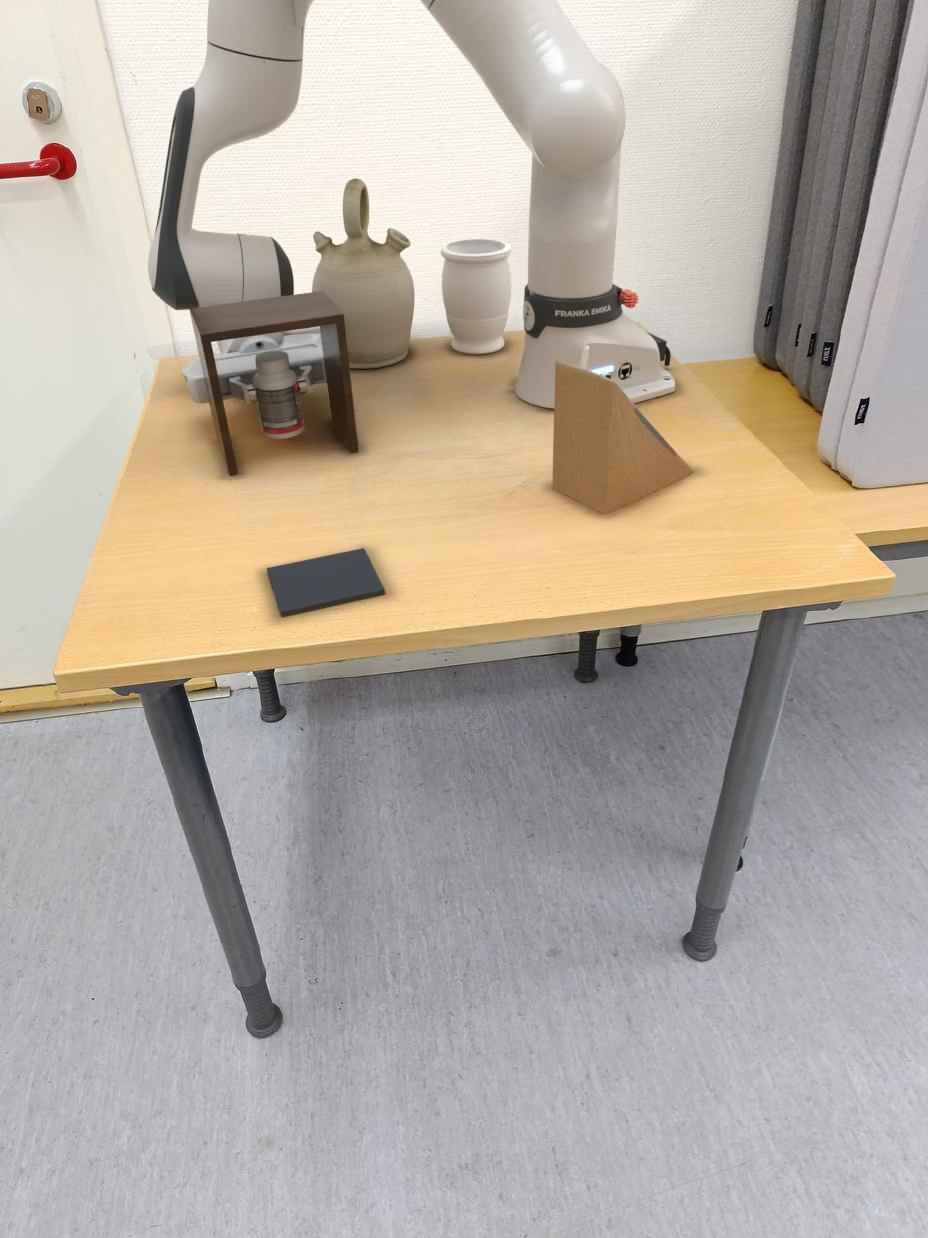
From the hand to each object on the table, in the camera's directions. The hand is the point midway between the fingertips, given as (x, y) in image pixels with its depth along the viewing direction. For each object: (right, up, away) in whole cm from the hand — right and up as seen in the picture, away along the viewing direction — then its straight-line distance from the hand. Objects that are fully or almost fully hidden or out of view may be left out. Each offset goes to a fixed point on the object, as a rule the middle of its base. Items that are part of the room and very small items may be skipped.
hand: (278, 392), depth 106 cm
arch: (0, -6, +3) cm, 7 cm away
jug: (+8, +13, +29) cm, 33 cm away
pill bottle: (0, -4, +4) cm, 6 cm away
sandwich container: (+41, -12, -6) cm, 43 cm away
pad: (+9, -24, -22) cm, 34 cm away
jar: (+25, +15, +31) cm, 43 cm away
